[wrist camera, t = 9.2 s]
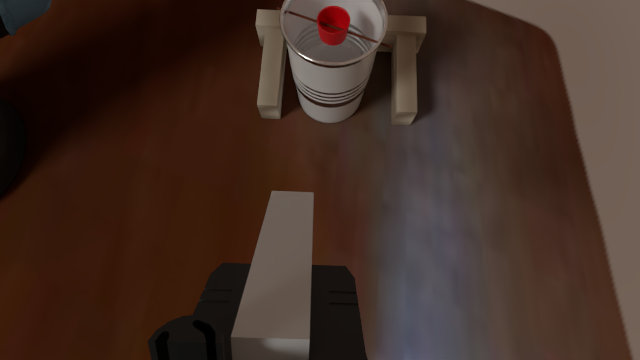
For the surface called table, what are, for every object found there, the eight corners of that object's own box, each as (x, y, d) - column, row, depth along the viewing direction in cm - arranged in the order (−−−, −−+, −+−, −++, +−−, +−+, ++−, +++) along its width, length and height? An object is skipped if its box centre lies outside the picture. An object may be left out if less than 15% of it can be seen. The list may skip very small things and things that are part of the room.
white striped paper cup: (273, 111, 38) (252, 39, 27) (303, 49, 40) (296, -43, 29) (358, 143, 37) (375, 83, 26) (385, 78, 39) (411, -5, 28)
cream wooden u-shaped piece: (252, 117, 38) (246, 101, 35) (262, 31, 41) (257, 9, 38) (419, 125, 38) (428, 110, 34) (417, 38, 41) (425, 16, 37)
